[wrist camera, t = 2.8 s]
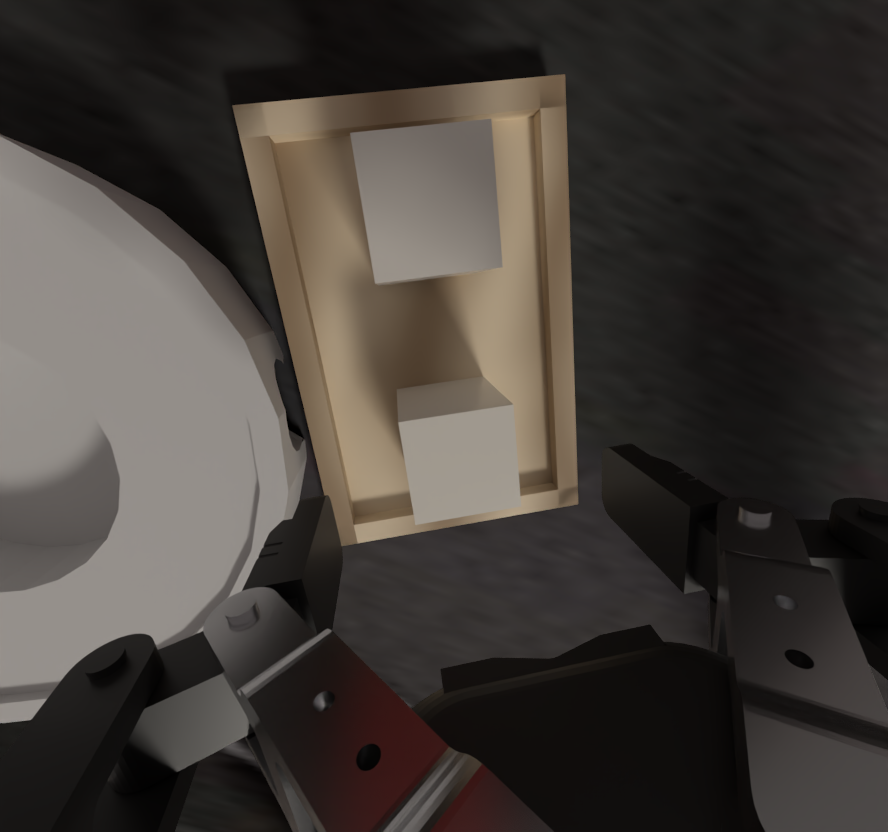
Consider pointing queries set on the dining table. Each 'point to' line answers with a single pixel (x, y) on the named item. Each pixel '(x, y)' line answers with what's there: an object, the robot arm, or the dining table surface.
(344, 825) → the robot arm
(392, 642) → the dining table surface
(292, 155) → the tray
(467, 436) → the stone block
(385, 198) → the stone block
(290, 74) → the dining table surface
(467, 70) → the dining table surface
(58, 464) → the ashtray
